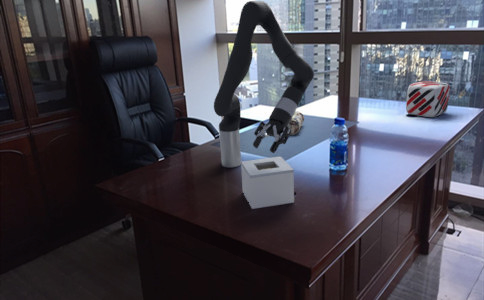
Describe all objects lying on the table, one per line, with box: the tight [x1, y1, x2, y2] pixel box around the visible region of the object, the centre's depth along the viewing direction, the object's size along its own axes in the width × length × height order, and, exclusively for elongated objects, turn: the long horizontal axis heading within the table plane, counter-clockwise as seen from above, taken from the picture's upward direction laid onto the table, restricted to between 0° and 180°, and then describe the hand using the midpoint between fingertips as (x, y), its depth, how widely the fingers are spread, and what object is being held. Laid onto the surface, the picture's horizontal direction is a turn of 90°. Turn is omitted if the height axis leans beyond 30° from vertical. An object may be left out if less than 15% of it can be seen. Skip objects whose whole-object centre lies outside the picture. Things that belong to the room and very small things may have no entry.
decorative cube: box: [405, 80, 451, 118], centre depth 253 cm, size 20×20×20 cm
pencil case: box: [287, 110, 305, 136], centre depth 237 cm, size 22×8×10 cm, turn 164°
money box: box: [240, 156, 295, 210], centre depth 151 cm, size 15×16×13 cm
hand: (263, 149), depth 146 cm, fingers open, 8 cm apart
